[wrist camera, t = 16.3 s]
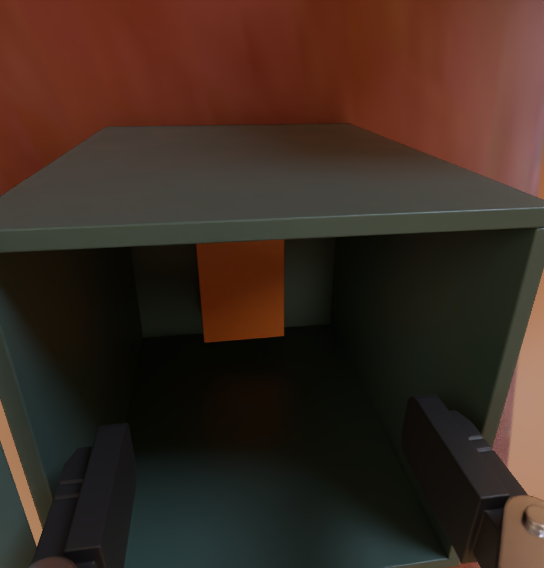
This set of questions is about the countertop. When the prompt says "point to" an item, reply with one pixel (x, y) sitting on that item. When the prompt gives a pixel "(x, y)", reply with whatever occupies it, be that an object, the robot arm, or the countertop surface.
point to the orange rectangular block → (241, 289)
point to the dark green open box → (261, 351)
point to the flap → (13, 523)
